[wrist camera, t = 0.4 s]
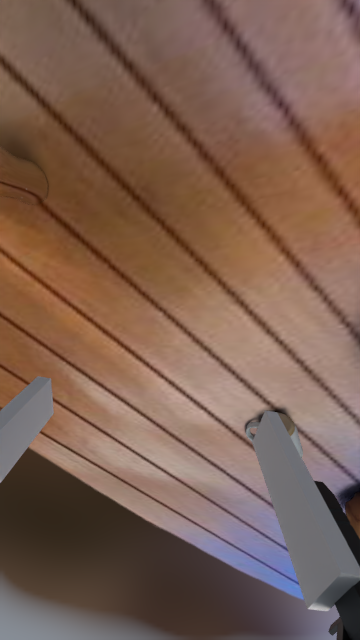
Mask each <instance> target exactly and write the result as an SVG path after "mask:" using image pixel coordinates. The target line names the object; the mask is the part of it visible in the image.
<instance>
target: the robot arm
mask: <svg viewBox="0 0 360 640" xmlns="http://www.w3.org/2000/svg"><path fill="white" fill-rule="evenodd" d="M53 413H54V412H53V399H52V386H51V378H45V377H37V378H36V379H35V380H33V381H32V382H31V383H30V384H29V385H28V386H27V387H26V388H25V389H24V390H23V391H21V392H20V393H19V394H18V395H17V396H16V397H15V398H14V399H13V400H12V401H11V402H10V403H8V404H7V405H6V406H5V407H4V408H3V409H2V410H1V411H0V483H1V482H2V480H3V479H4V478H5V476H6V475H7V474H8V472H9V471H10V470H11V468H12V467H13V466H14V464H15V463H16V462H17V461H18V459H19V458H20V457H21V455H22V454H23V453H24V451H25V450H26V449H27V447H28V446H29V445H30V444H31V442H32V441H33V440H34V438H35V437H36V436H37V434H38V433H39V432H40V430H41V429H42V428H43V427H44V425H45V424H46V423H47V421H48V420H49V419H50V417H51V416H52V415H53ZM252 443H253V446H254V449H255V452H256V455H257V458H258V461H259V464H260V467H261V470H262V473H263V476H264V479H265V482H266V485H267V488H268V491H269V494H270V497H271V500H272V503H273V506H274V509H275V512H276V515H277V518H278V521H279V524H280V527H281V530H282V533H283V536H284V539H285V542H286V546H287V549H288V552H289V555H290V558H291V561H292V564H293V567H294V570H295V573H296V576H297V579H298V582H299V585H300V588H301V591H302V594H303V597H304V600H305V603H306V606H307V609H314V610H321V611H328V610H329V609H330V608H332V607H333V606H334V605H336V608H337V610H338V612H339V615H340V617H339V619H337V620H336V621H335V622H334V623H333V624H332V625H331V626H330V629H329V633H330V634H331V635H334V634H335V633H336V632H337V640H360V539H359V537H358V535H357V533H356V532H355V530H354V528H353V527H352V525H350V521H349V520H348V518H347V516H346V515H345V513H343V509H342V508H341V506H340V504H339V503H338V501H337V499H336V497H335V496H334V494H333V493H332V492H331V491H330V490H329V489H328V488H327V486H326V485H325V484H324V483H323V482H318V481H314V480H313V479H312V477H311V475H310V473H309V471H308V469H307V467H306V465H305V464H304V462H303V460H302V458H301V456H300V454H299V452H298V450H297V449H296V447H295V445H294V443H293V441H292V439H291V437H290V435H289V434H288V432H287V430H286V428H285V426H284V424H283V422H282V420H281V419H280V417H279V415H278V413H277V412H272V411H265V412H264V415H263V417H262V419H261V422H260V424H259V427H258V429H257V432H256V434H255V436H254V439H253V441H252Z"/></svg>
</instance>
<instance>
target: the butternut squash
mask: <svg viewBox="0 0 360 640" xmlns="http://www.w3.org/2000/svg"><path fill="white" fill-rule="evenodd" d="M345 511H346V516H347V518H348V520H349V521H350V525H352V527H353V528H354V530H355V532H356V533H357V535H358V537H359V539H360V492H358V493H355V496H354V497H353V498H352V499H351V500H350V501H348V502H346V505H345Z"/></svg>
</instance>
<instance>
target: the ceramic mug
mask: <svg viewBox="0 0 360 640" xmlns="http://www.w3.org/2000/svg"><path fill="white" fill-rule="evenodd" d="M278 415H279V417H280V419H281V420H282V422H283V424H284V426H285V428H286V430H287V432H288V434H289V435H290V437H291V439H292V441H293V443H294V445H295V447H296V449H297V450H298V452H299V454H300V456H301V458H302V455H303V450H302V446H301V443H300V439H299V436H298V432H297V428H296V426H295V424H294V422H293V421H292V419H291V418H290V417H288V416H287V415H285V414H282V413H278ZM259 424H260V422H251V423H249V424H248V425H247V427H246V435H247V437H248V438H249V439H250V440H251V441H253V439H254V436H253V435H252V434H251V433H250V428H258V427H259Z"/></svg>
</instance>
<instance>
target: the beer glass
mask: <svg viewBox="0 0 360 640" xmlns="http://www.w3.org/2000/svg"><path fill="white" fill-rule="evenodd" d="M47 193H48V182H47V179H46V176H45V174H44V173H43V171H42V170H41V169H40V168H39V167H38V166H37V165H36V164H35V163H33V162H31V161H29V160H26V159H22V158H18V157H15V156H13V155H12V154H10V153H9V152H7V151H6V150H5V149H3V148H2V147H1V146H0V197H12V198H15V199H17V200H19V201H21V202H23V203H26V204H29V205H37V204H40V203H42V202H43V201H44V200H45V198H46V196H47Z"/></svg>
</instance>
